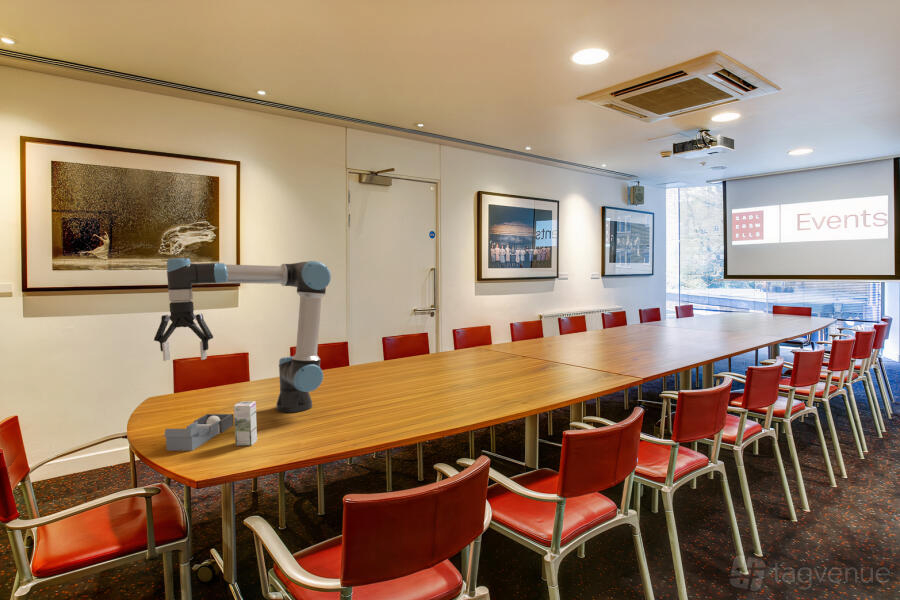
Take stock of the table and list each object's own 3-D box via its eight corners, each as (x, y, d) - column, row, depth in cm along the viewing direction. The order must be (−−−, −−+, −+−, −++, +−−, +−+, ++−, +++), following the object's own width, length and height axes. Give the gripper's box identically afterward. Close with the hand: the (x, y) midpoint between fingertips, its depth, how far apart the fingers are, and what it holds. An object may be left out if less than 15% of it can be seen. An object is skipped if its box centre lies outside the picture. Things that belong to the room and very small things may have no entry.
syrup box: (257, 440, 174) (256, 400, 173) (251, 446, 168) (250, 405, 167) (241, 440, 174) (240, 400, 173) (235, 446, 168) (233, 405, 167)
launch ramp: (190, 451, 164) (189, 429, 163) (164, 451, 164) (163, 429, 163) (219, 432, 182) (218, 413, 182) (196, 432, 183) (195, 413, 182)
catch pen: (221, 432, 182) (221, 421, 182) (194, 432, 183) (193, 421, 183) (233, 425, 191) (233, 413, 191) (207, 425, 192) (206, 414, 192)
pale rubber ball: (222, 413, 188) (223, 425, 189) (209, 413, 188) (211, 425, 189) (215, 418, 183) (217, 431, 184) (202, 419, 183) (204, 431, 184)
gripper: (220, 299, 178) (224, 356, 179) (153, 301, 178) (157, 358, 180) (210, 301, 170) (214, 360, 172) (140, 303, 171) (144, 362, 172)
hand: (185, 359), depth 176 cm, fingers open, 13 cm apart
